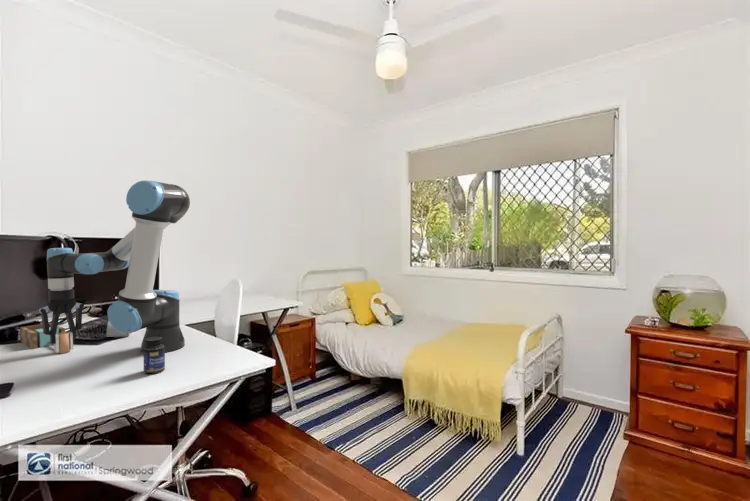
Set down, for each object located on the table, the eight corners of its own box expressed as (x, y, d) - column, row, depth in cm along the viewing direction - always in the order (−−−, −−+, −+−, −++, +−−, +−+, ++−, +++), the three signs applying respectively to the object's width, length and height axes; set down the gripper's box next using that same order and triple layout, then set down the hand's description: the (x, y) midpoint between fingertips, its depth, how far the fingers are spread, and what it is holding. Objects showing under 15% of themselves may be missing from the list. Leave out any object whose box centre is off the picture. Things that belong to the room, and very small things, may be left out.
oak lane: (65, 342, 155) (64, 328, 155) (33, 348, 147) (33, 333, 146) (51, 336, 164) (50, 322, 163) (20, 341, 155) (20, 327, 155)
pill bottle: (149, 376, 121) (149, 342, 121) (139, 372, 125) (139, 339, 124) (168, 370, 127) (168, 337, 126) (158, 366, 130) (158, 334, 129)
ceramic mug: (129, 337, 163) (129, 320, 163) (106, 340, 159) (105, 322, 159) (132, 332, 172) (131, 315, 172) (110, 334, 169) (110, 317, 168)
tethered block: (75, 350, 145) (74, 332, 144) (55, 354, 140) (54, 336, 139) (53, 341, 157) (53, 324, 156) (35, 344, 152) (34, 327, 151)
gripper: (83, 285, 151) (85, 343, 152) (29, 290, 137) (31, 354, 138) (91, 287, 147) (93, 346, 148) (35, 292, 133) (38, 358, 134)
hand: (63, 350), depth 143 cm, fingers closed on tethered block, 4 cm apart
